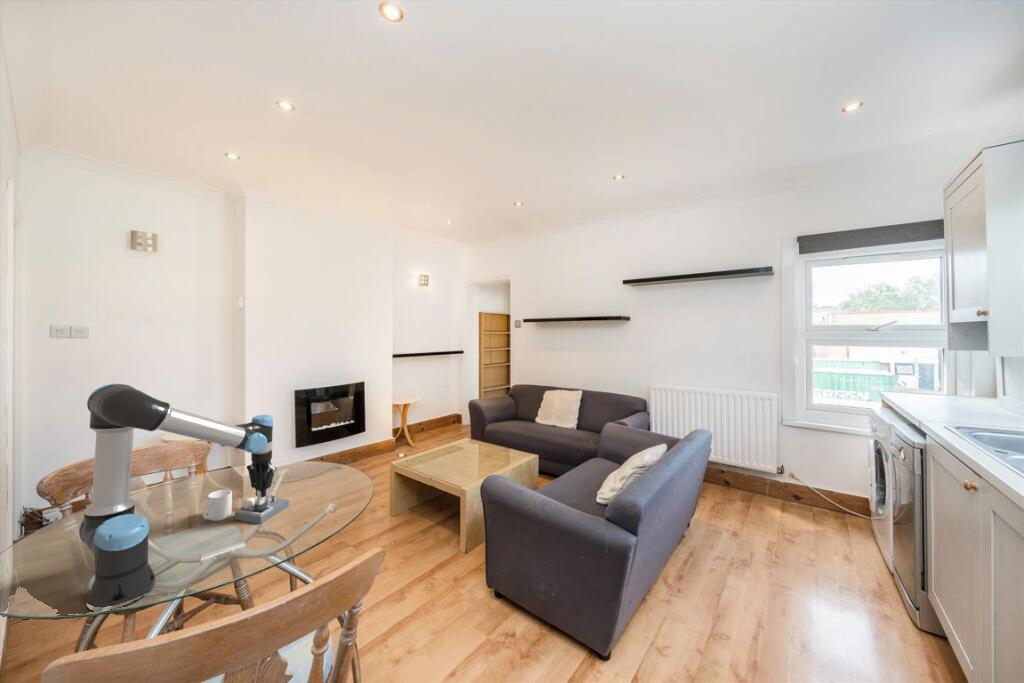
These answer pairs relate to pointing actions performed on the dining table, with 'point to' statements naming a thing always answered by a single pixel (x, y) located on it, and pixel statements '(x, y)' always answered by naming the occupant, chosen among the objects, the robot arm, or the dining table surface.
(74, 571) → the dining table surface
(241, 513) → the panel
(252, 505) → the button ivory
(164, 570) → the dining table surface
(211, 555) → the dining table surface
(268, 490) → the lever
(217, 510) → the mug
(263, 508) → the button black
